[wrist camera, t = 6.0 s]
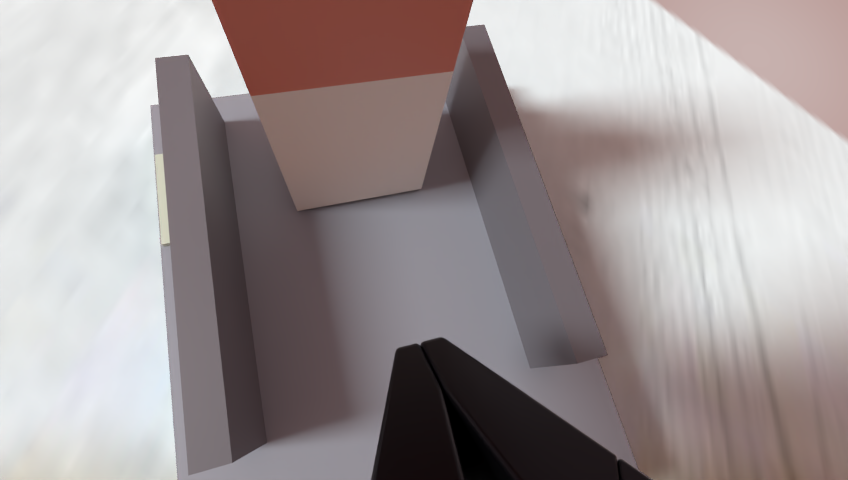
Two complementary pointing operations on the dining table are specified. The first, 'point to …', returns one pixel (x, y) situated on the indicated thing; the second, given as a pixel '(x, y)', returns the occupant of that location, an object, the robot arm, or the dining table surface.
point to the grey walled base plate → (356, 283)
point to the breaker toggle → (347, 88)
